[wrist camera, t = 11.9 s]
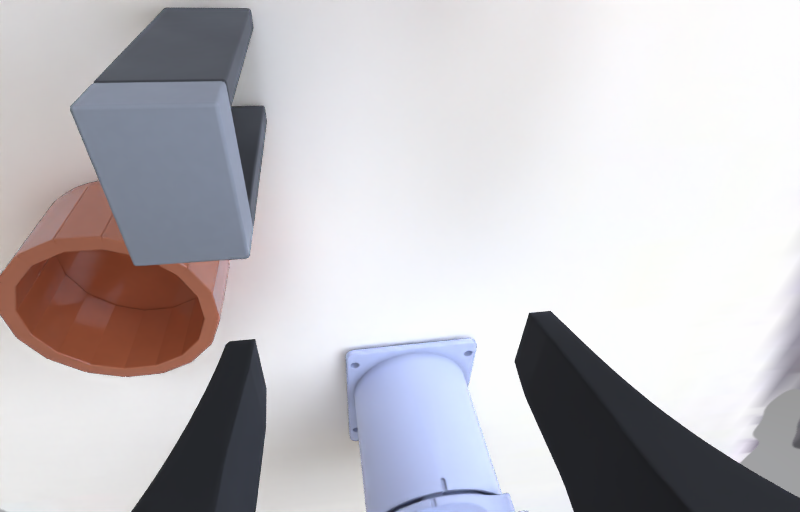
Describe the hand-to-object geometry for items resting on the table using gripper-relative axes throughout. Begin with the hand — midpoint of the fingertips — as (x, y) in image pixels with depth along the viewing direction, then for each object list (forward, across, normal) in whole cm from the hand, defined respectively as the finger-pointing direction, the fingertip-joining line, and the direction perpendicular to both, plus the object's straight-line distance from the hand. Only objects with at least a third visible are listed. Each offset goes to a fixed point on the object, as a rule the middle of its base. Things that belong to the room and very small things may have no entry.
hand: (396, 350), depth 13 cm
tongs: (+10, +5, -4) cm, 12 cm away
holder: (+10, +10, +4) cm, 15 cm away
